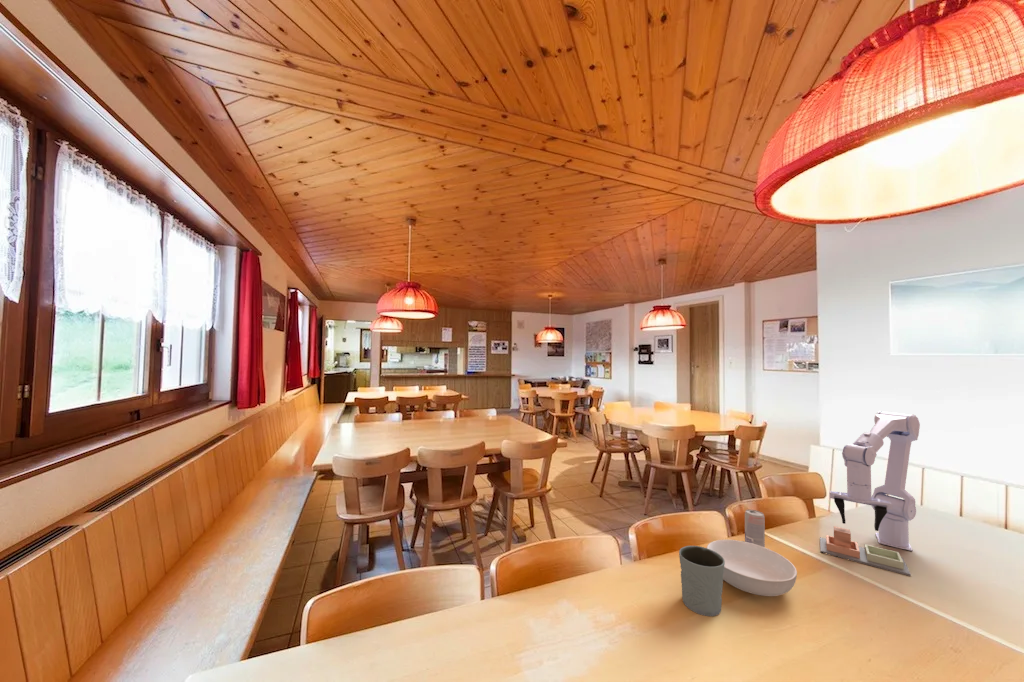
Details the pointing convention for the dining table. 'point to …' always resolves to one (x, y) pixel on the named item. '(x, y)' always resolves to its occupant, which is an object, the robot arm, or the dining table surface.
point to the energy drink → (755, 527)
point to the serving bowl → (755, 568)
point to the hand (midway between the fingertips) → (859, 526)
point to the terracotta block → (842, 537)
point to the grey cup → (702, 579)
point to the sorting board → (866, 555)
